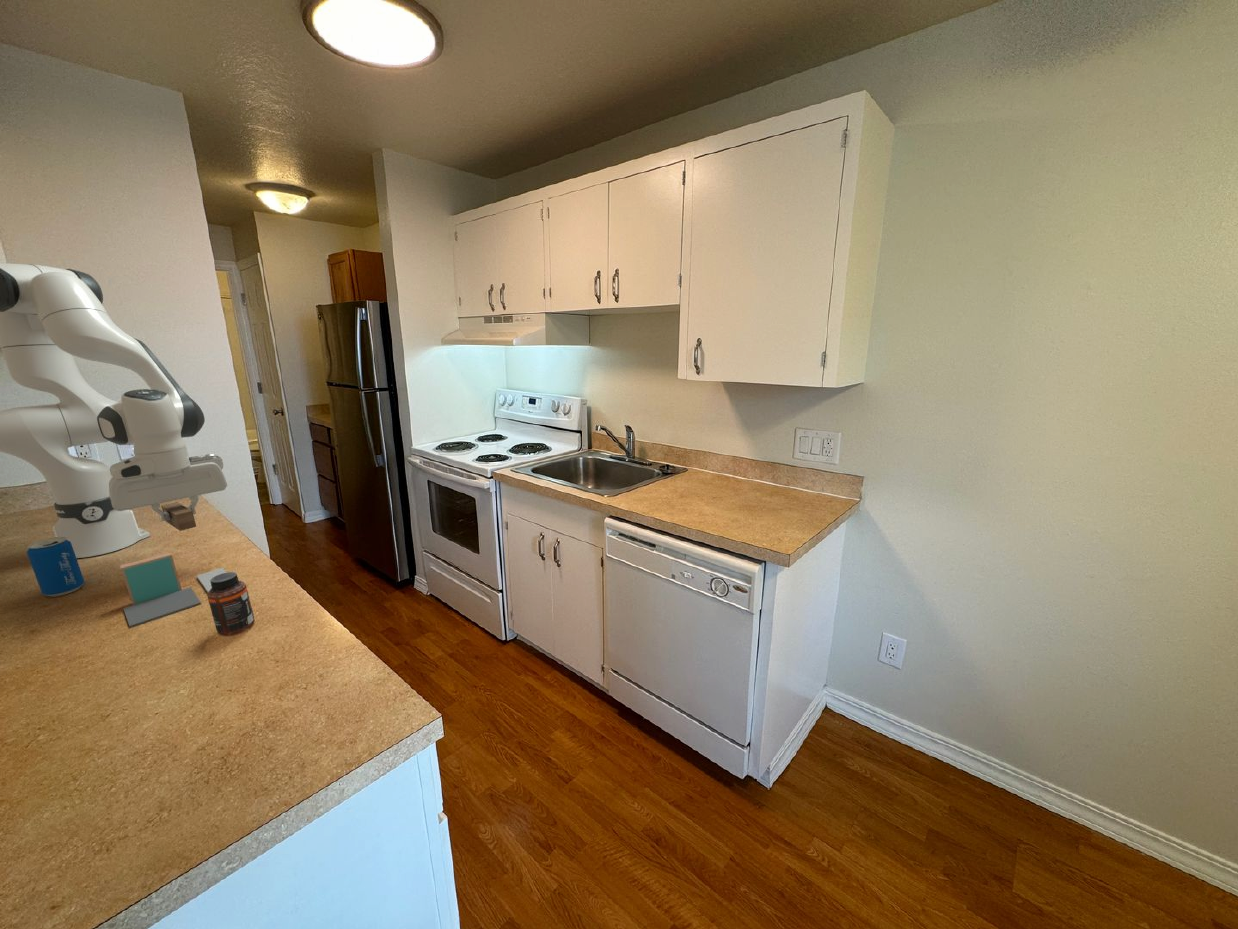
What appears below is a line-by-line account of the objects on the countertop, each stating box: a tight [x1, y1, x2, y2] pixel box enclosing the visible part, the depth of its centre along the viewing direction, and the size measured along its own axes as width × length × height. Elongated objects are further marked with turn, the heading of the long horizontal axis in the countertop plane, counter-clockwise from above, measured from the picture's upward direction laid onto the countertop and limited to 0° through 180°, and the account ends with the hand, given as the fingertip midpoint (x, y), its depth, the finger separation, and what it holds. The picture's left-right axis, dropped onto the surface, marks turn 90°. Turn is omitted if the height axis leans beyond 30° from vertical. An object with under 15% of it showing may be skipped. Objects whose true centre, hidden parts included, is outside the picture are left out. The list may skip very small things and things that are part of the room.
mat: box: [122, 586, 202, 628], centre depth 103 cm, size 10×11×1 cm
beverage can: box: [26, 536, 86, 598], centre depth 108 cm, size 6×6×12 cm
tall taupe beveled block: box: [160, 501, 197, 532], centre depth 115 cm, size 10×3×4 cm, turn 57°
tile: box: [119, 552, 183, 605], centre depth 106 cm, size 2×8×9 cm, turn 140°
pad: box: [196, 567, 228, 593], centre depth 113 cm, size 12×5×1 cm, turn 50°
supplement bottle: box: [207, 571, 255, 637], centre depth 94 cm, size 6×6×11 cm
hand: (178, 517), depth 115 cm, fingers closed on tall taupe beveled block, 3 cm apart
